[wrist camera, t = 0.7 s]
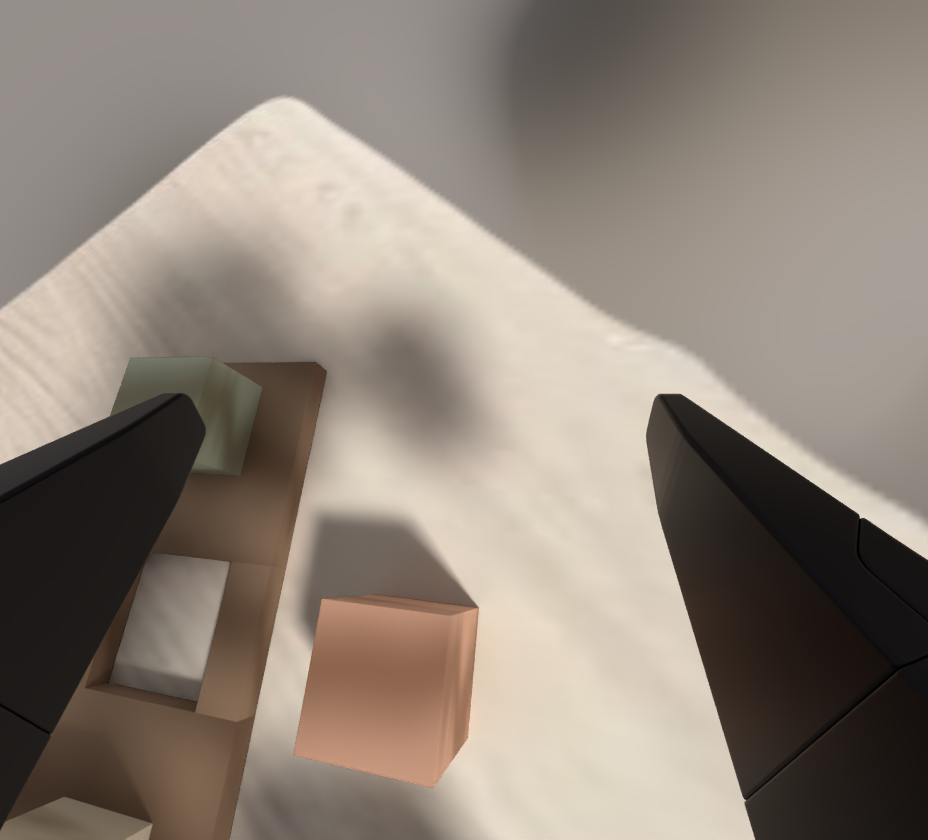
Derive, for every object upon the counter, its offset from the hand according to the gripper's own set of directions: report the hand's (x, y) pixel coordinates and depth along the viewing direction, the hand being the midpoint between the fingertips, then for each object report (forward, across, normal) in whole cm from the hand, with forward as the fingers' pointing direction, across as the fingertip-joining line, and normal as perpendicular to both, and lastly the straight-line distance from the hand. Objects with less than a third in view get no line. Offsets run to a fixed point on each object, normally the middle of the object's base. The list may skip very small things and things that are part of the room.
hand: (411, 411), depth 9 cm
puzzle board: (+4, +15, +16) cm, 23 cm away
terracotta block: (+2, +2, +16) cm, 16 cm away
